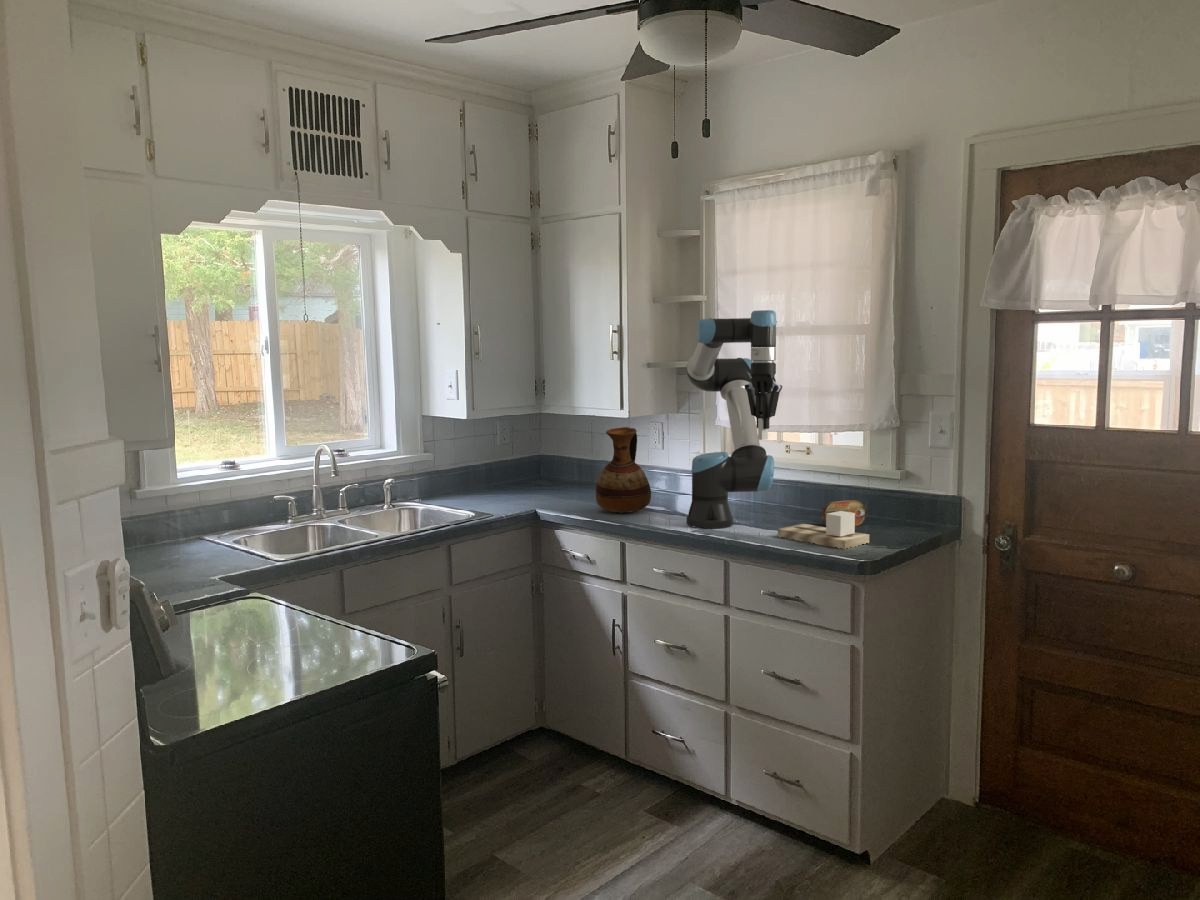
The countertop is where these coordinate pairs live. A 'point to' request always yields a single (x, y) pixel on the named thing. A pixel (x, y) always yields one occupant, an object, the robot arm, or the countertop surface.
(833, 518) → the fader tab
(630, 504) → the ceramic pitcher
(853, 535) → the beige flat block
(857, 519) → the tin
